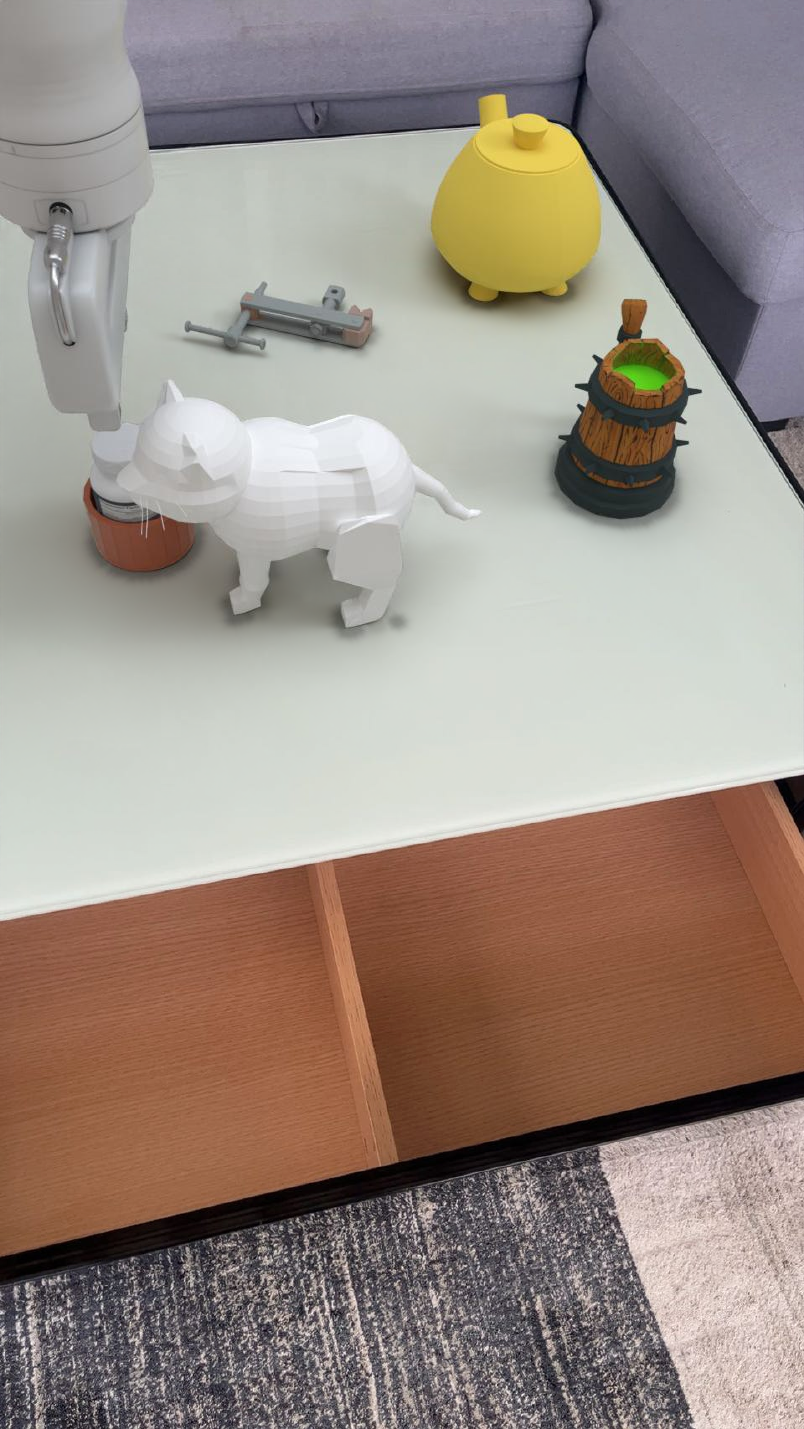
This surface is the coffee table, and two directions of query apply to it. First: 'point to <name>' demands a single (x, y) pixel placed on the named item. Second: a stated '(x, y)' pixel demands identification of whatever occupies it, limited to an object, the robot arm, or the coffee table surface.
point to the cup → (138, 539)
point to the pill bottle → (115, 475)
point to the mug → (626, 426)
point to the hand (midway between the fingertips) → (111, 374)
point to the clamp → (352, 322)
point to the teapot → (517, 206)
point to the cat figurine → (284, 492)
